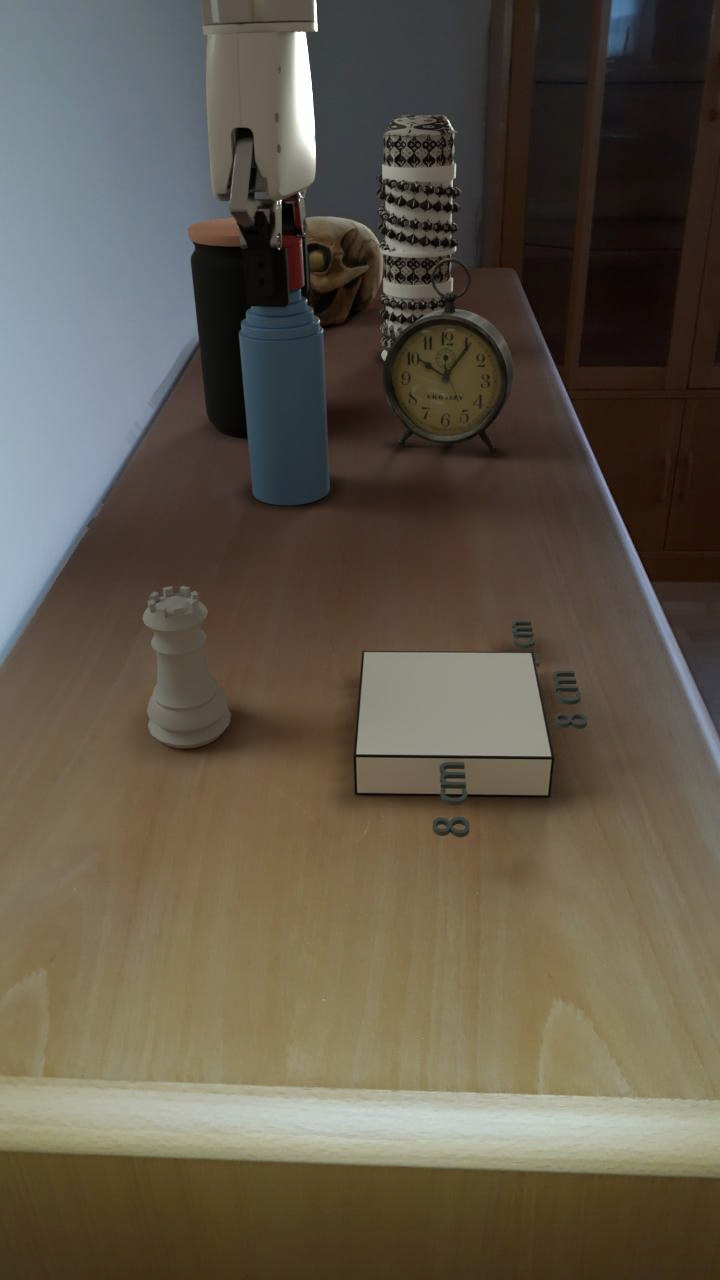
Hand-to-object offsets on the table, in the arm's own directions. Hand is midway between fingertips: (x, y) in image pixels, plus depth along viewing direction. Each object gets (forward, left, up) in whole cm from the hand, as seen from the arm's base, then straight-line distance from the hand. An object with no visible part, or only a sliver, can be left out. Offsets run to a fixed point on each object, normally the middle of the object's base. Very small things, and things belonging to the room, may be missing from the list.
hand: (278, 296), depth 73 cm
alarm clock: (+11, +13, -16) cm, 23 cm away
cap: (0, 0, +1) cm, 1 cm away
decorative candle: (+2, +42, -16) cm, 45 cm away
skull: (-15, +60, -16) cm, 64 cm away
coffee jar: (-8, +16, -16) cm, 24 cm away
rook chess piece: (+5, -33, -16) cm, 37 cm away
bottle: (0, 0, -15) cm, 15 cm away
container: (+20, -30, -16) cm, 39 cm away
